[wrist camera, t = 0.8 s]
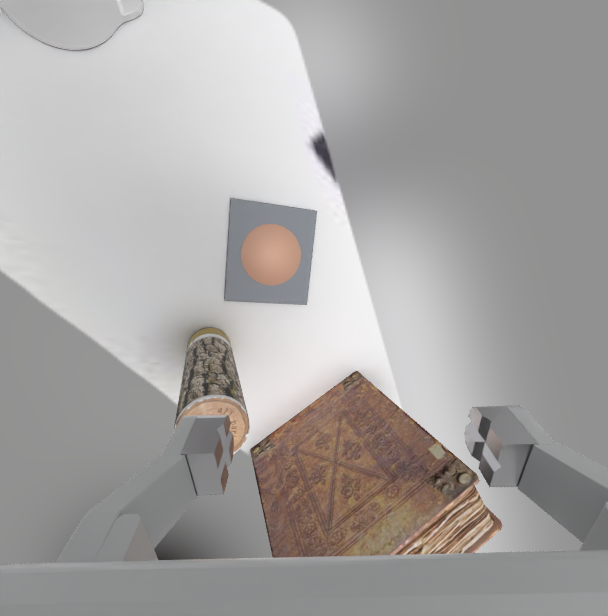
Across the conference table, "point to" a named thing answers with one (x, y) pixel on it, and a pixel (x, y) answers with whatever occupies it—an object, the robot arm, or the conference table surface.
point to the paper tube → (213, 383)
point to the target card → (269, 253)
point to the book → (365, 482)
